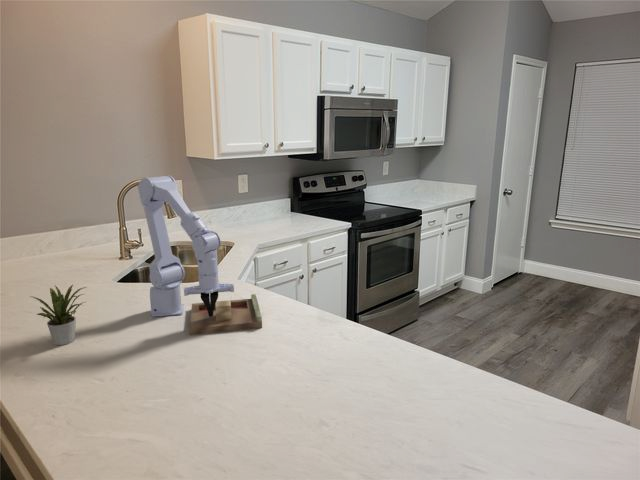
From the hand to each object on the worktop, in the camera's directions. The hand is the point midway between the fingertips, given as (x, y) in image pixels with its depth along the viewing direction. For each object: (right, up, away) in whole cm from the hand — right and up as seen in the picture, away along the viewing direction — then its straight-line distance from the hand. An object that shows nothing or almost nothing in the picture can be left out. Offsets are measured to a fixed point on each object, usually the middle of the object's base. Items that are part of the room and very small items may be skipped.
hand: (211, 315), depth 138 cm
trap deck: (+3, -2, +6) cm, 7 cm away
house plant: (-38, -6, -10) cm, 39 cm away
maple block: (+4, -1, +1) cm, 4 cm away
